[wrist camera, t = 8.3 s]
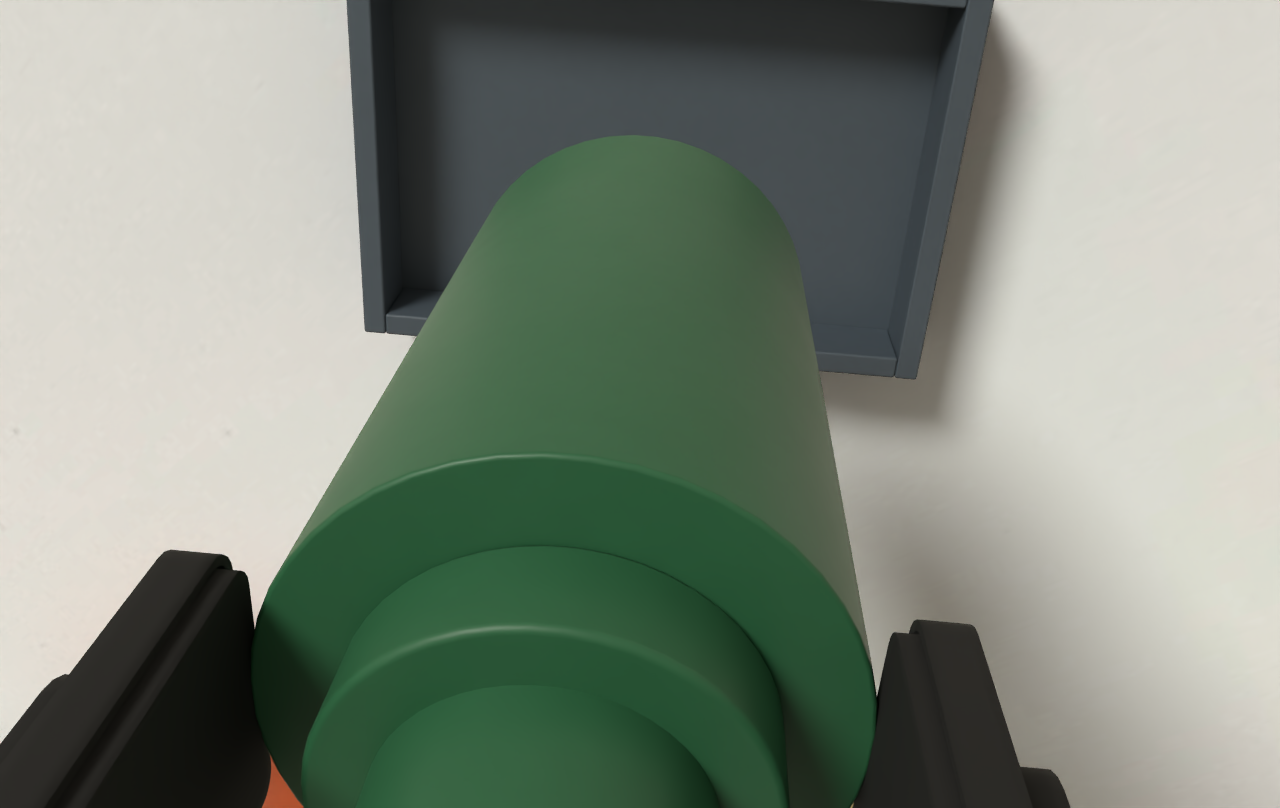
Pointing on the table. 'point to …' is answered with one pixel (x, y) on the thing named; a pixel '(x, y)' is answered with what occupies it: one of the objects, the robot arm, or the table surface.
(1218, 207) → the table surface
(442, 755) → the bottle
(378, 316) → the tray
